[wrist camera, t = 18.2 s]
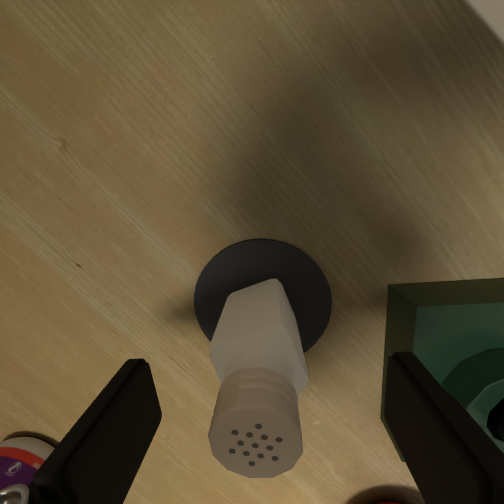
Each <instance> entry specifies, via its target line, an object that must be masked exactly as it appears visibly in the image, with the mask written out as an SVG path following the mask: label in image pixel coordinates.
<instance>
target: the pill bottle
mask: <svg viewBox="0 0 504 504" xmlns="http://www.w3.org/2000/svg"><path fill="white" fill-rule="evenodd" d="M54 449H55V448H54V447H52V446H51V445H49V444H48V443H46V442H44V441H42V440H39V439H36V438H33V437H17V438H11V439H8V440H6V441H3V442H1V443H0V490H2V489H4V488H6V487H8V486H10V485H15V484H24V485H26V486H27V487H28V485H29V484H30V483H31V482H32V480H33V477H32V476H33V475H34V474H35V472H36V471H37V470H38V469H39V467H40V466H41V465H42V464H43V463H44V461H45V460H46V459H47V458H48V456H49V455H50V454H51V453H52V451H53V450H54Z"/></svg>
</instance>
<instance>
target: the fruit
mask: <svg viewBox="0 0 504 504" xmlns="http://www.w3.org/2000/svg"><path fill="white" fill-rule="evenodd" d="M377 504H402V503H398V502H390V501H388V502H380V503H377Z"/></svg>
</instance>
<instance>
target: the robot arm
mask: <svg viewBox="0 0 504 504" xmlns="http://www.w3.org/2000/svg"><path fill="white" fill-rule="evenodd" d="M161 417H162V412H161V408H160V404H159V400H158V397H157V393H156V389H155V385H154V381H153V377H152V373H151V370H150V366H149V363H147V362H146V361H145V360H144V359H129V360H127V361H126V362H125V363H124V365H123V366H122V367H121V368H120V369H119V371H118V372H117V373H116V374H115V376H114V377H113V378H112V379H111V380H110V382H109V383H108V384H107V385H106V387H105V388H104V389H103V390H102V391H101V393H100V394H99V395H98V396H97V398H96V399H95V400H94V401H93V402H92V404H91V405H90V406H89V407H88V409H87V410H86V411H85V412H84V414H83V415H82V416H81V417H80V418H79V420H78V421H77V422H76V423H75V425H74V426H73V427H72V428H71V429H70V431H69V432H68V433H67V434H66V436H65V437H64V438H63V439H62V440H61V442H60V443H59V444H58V445H57V447H56V448H55V449H54V450H53V451H52V453H51V454H50V455H49V456H48V458H47V459H46V460H45V461H44V463H43V464H42V465H41V466H40V467H39V469H38V470H37V471H36V472H35V474H34V475H33V476H32V477H33V480H32V482H31V483H30V484H29V485H28V487H27V486H26V485H24V484H15V485H10V486H8V487H6V488H4V489H2V490H0V504H123V502H124V500H125V498H126V496H127V493H128V491H129V489H130V487H131V485H132V483H133V480H134V478H135V476H136V474H137V472H138V470H139V467H140V465H141V463H142V461H143V459H144V457H145V454H146V452H147V450H148V448H149V446H150V444H151V441H152V439H153V437H154V435H155V433H156V431H157V428H158V426H159V424H160V422H161ZM384 417H385V420H386V423H387V425H388V427H389V429H390V431H391V433H392V436H393V438H394V440H395V442H396V444H397V446H398V448H399V450H400V452H401V454H402V456H403V458H404V460H405V462H406V464H407V466H408V468H409V470H410V472H411V474H412V476H413V478H414V481H415V483H416V485H417V487H418V489H419V491H420V493H421V495H422V497H423V499H424V501H425V503H426V504H504V453H503V452H502V451H501V450H500V449H499V447H498V446H497V445H496V444H495V443H494V442H493V441H492V439H491V438H490V437H489V436H488V435H487V434H486V433H485V431H484V430H483V429H482V428H481V427H480V426H479V425H478V423H477V422H476V421H475V420H474V419H473V418H472V416H471V415H470V414H469V413H468V412H467V411H466V410H465V408H464V407H463V406H462V405H461V404H460V403H459V402H458V400H457V399H456V398H455V397H454V396H453V395H451V394H449V393H448V392H446V391H445V389H444V388H443V387H442V386H441V385H440V384H439V382H438V381H437V380H436V379H435V378H434V377H433V375H432V374H431V373H430V372H429V371H428V370H427V368H426V367H425V366H424V365H423V364H422V363H421V361H420V360H419V359H418V358H417V357H416V355H415V354H414V353H413V352H410V351H409V352H393V354H392V356H389V357H388V363H387V376H386V389H385V402H384Z"/></svg>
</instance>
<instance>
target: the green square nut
mask: <svg viewBox="0 0 504 504" xmlns="http://www.w3.org/2000/svg"><path fill="white" fill-rule="evenodd" d="M409 351H410V352H413V353H414V354H415V355H416V357H417V358H418V359H419V360H420V361H421V363H422V364H423V365H424V366H425V367H426V368H427V370H428V371H429V372H430V373H431V374H432V375H433V377H434V378H435V379H436V380H437V381H438V382H439V384H440V385H441V386H442V387H443V388H444V389H445V391H446V392H448V393H449V394H451V395H453V396H454V397H455V398H456V399H457V400H458V402H459V403H460V404H461V405H462V406H463V407H464V408H465V410H466V411H467V412H468V413H469V414H470V415H471V416H472V418H473V419H474V420H475V421H476V422H477V423H478V425H479V426H480V427H481V428H482V429H483V430H484V431H485V433H486V434H487V435H488V436H489V437H490V438H491V439H492V441H493V442H494V443H495V444H496V445H497V446H498V447H499V449H500V450H501V451H502V452H503V453H504V440H503V438H502V437H501V436H500V435H499V434H498V433H497V432H496V431H495V430H494V429H493V428H492V427H491V425H490V424H489V422H488V416H489V412H490V411H491V410H492V409H493V408H494V407H495V406H496V405H497V404H498V403H499V402H500V401H501V400H502V399H503V398H504V278H499V279H481V280H464V281H447V282H429V283H412V284H395V285H389V290H388V307H387V324H386V340H385V357H384V373H383V390H382V407H381V420H382V422H383V424H384V426H385V428H386V430H387V432H388V434H389V436H390V438H391V440H392V442H393V444H394V446H395V449H396V451H397V453H398V455H399V457H400V459H401V461H402V462H405V460H404V458H403V456H402V454H401V452H400V450H399V448H398V446H397V444H396V442H395V440H394V438H393V436H392V433H391V431H390V429H389V427H388V425H387V423H386V420H385V417H384V402H385V389H386V376H387V363H388V357H389V356H392V354H393V352H409Z"/></svg>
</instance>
